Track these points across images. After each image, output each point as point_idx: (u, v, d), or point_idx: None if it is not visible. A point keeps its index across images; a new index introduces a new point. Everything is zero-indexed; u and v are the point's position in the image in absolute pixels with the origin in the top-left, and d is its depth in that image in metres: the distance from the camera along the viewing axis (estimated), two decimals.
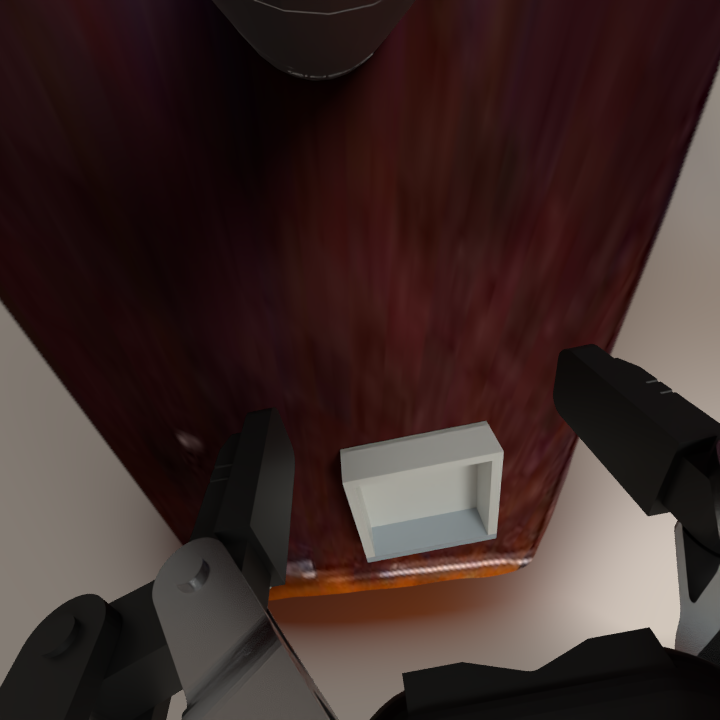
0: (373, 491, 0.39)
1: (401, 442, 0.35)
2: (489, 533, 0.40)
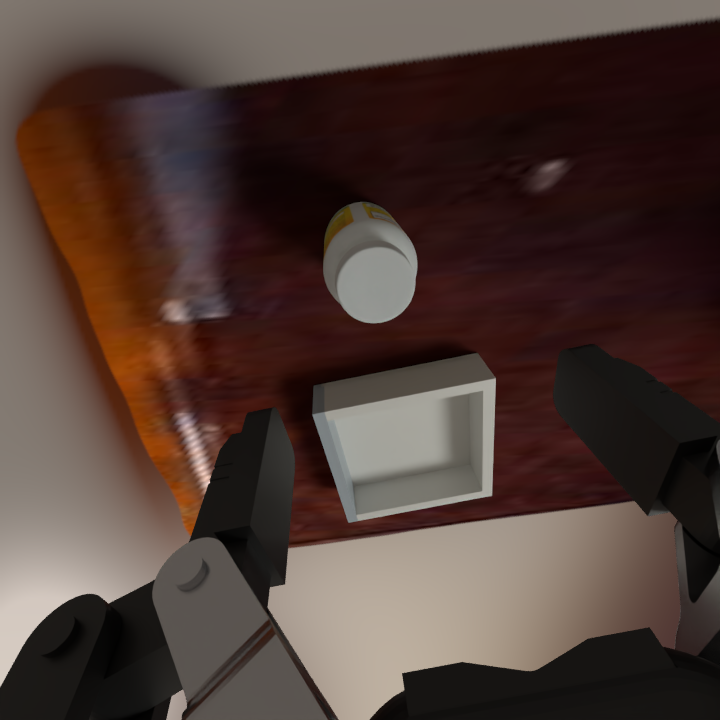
0: None
1: None
2: (359, 515, 0.36)
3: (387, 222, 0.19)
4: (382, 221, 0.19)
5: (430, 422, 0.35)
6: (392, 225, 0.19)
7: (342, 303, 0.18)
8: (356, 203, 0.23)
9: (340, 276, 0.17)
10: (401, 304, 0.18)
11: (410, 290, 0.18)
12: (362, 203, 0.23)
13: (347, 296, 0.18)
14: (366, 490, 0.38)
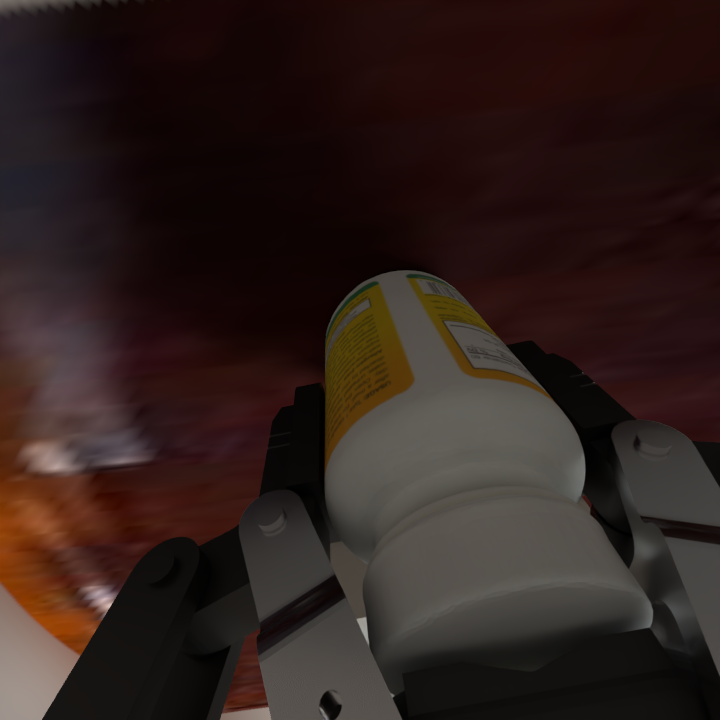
0: None
1: None
2: None
3: (519, 390, 0.06)
4: (506, 390, 0.06)
5: None
6: (535, 400, 0.06)
7: (390, 690, 0.05)
8: (394, 276, 0.11)
9: (390, 651, 0.05)
10: None
11: None
12: (408, 278, 0.11)
13: None
14: None
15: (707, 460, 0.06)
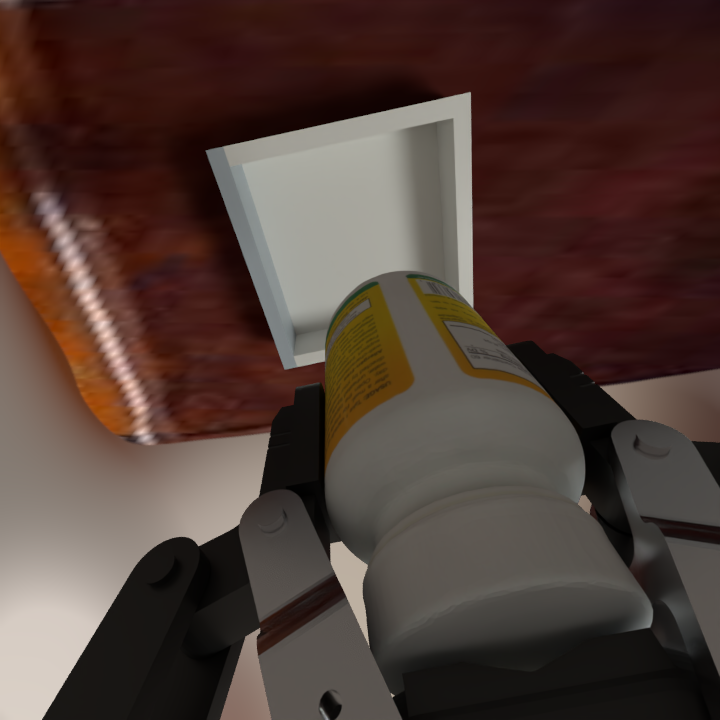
0: (348, 163, 0.24)
1: None
2: (297, 357, 0.27)
3: (519, 390, 0.06)
4: (506, 390, 0.06)
5: (389, 224, 0.26)
6: (535, 400, 0.06)
7: (391, 690, 0.05)
8: (394, 276, 0.11)
9: (391, 651, 0.05)
10: None
11: None
12: (408, 278, 0.11)
13: None
14: (311, 336, 0.29)
15: (707, 460, 0.06)
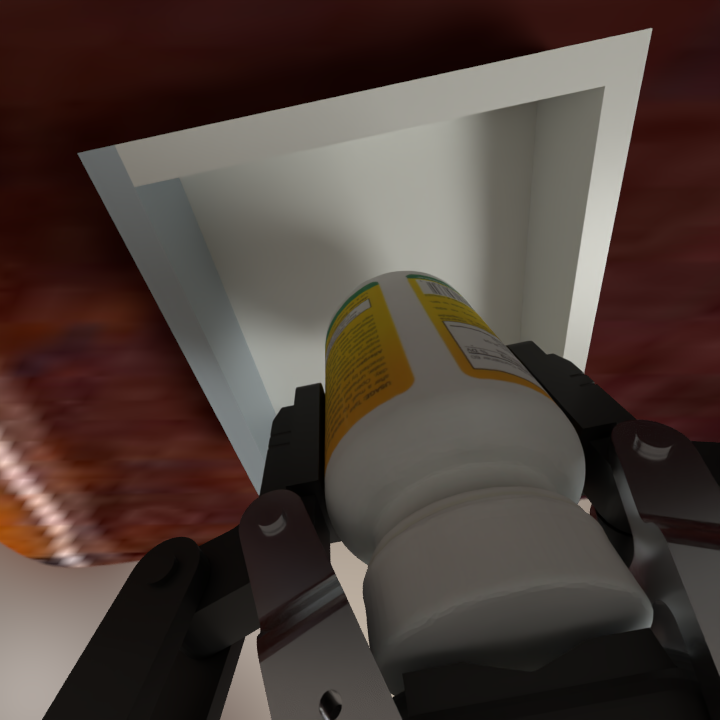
0: (373, 175, 0.13)
1: None
2: None
3: (519, 390, 0.06)
4: (506, 390, 0.06)
5: (437, 276, 0.15)
6: (535, 400, 0.06)
7: (391, 691, 0.05)
8: (394, 276, 0.11)
9: (391, 652, 0.05)
10: None
11: None
12: (408, 279, 0.11)
13: None
14: None
15: (707, 460, 0.06)
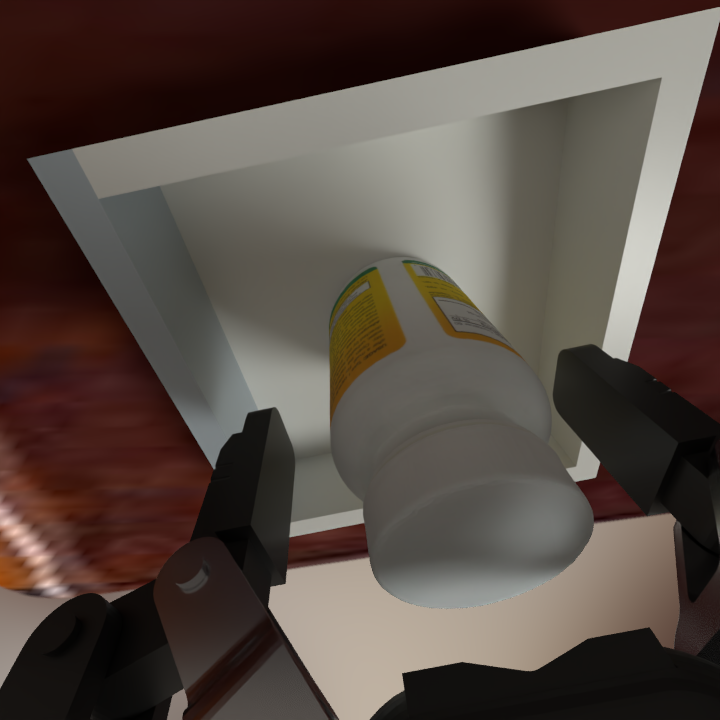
0: (380, 182, 0.12)
1: None
2: None
3: (493, 348, 0.07)
4: (482, 347, 0.07)
5: None
6: (507, 356, 0.07)
7: (385, 586, 0.07)
8: (391, 261, 0.12)
9: (385, 543, 0.06)
10: (540, 576, 0.07)
11: (573, 553, 0.06)
12: (404, 263, 0.12)
13: (400, 575, 0.06)
14: (306, 469, 0.17)
15: None
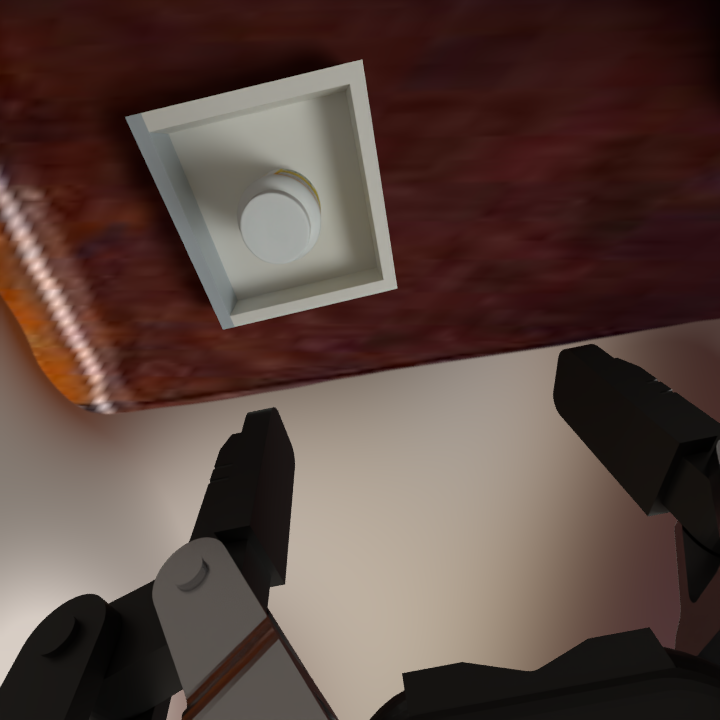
0: (268, 132, 0.26)
1: None
2: (233, 317, 0.29)
3: (288, 177, 0.22)
4: (283, 176, 0.21)
5: None
6: (292, 179, 0.21)
7: (248, 245, 0.21)
8: None
9: (242, 220, 0.20)
10: (300, 246, 0.21)
11: (306, 232, 0.21)
12: (280, 169, 0.26)
13: (251, 239, 0.20)
14: (250, 300, 0.31)
15: None
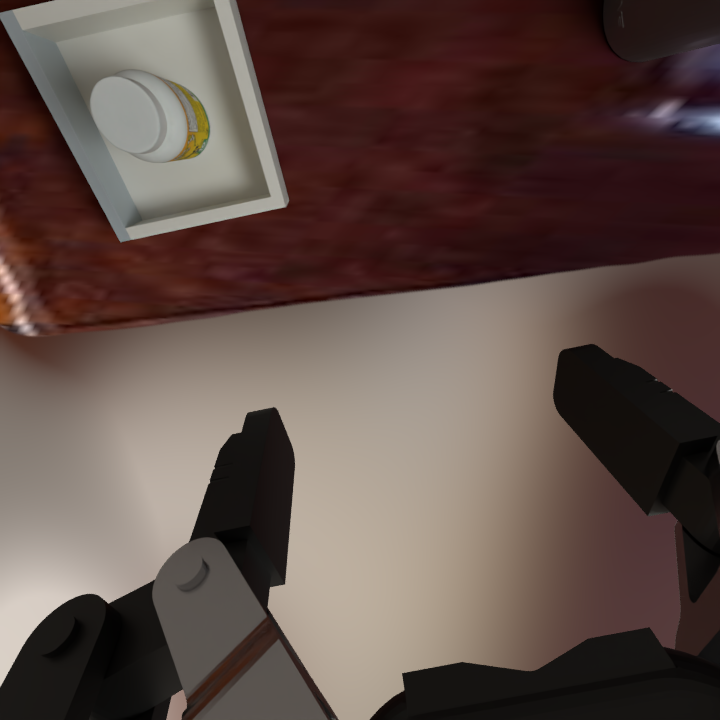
0: (152, 44, 0.27)
1: (258, 87, 0.29)
2: (129, 229, 0.31)
3: (146, 72, 0.23)
4: (141, 70, 0.23)
5: None
6: (150, 74, 0.23)
7: (101, 131, 0.22)
8: None
9: (91, 104, 0.21)
10: (152, 134, 0.22)
11: (155, 120, 0.22)
12: None
13: (103, 124, 0.22)
14: (152, 219, 0.33)
15: None
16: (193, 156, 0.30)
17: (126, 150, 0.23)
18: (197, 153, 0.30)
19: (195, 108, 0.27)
